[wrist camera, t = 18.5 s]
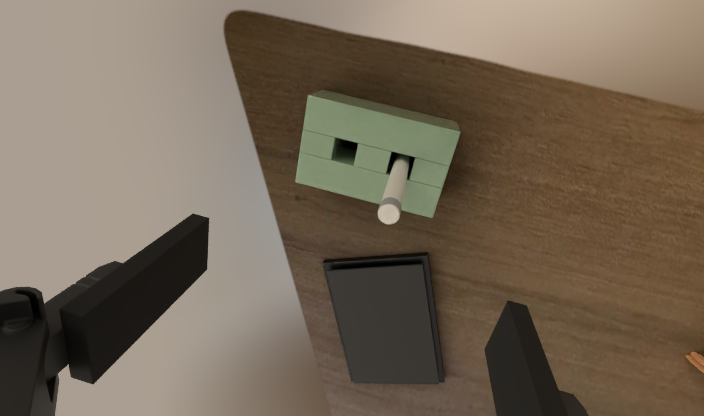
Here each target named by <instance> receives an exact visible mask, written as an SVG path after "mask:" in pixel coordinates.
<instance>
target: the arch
mask: <svg viewBox="0 0 704 416" xmlns="http://www.w3.org/2000/svg"><path fill="white" fill-rule="evenodd" d="M690 354H691V355H686V358H687V359H688V360H689V361H690V362H691V363H692V364H693V365H694V366H696V367H697V368H698V369H699V370H700V371H702V372H703V373H704V357H703V356H702V355H698V354H697V353H696V352H691V353H690Z"/></svg>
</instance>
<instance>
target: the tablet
mask: <svg viewBox="0 0 704 416" xmlns="http://www.w3.org/2000/svg"><path fill="white" fill-rule="evenodd" d="M322 264H323V268H324V272H325V276H326V280H327V284H328V288H329V292H330V296H331V300H332V304H333V308H334V312H335V316H336V320H337V324H338V329H339V333H340V337H341V341H342V345H343V349H344V353H345V357H346V361H347V365H348V369H349V373H350V377H351V381H353V377H352V373H351V369H350V365H349V361H348V357H347V353H346V349H345V345H344V341H343V337H342V332H341V328H340V324H339V320H338V316H337V312H336V308H335V304H334V300H333V296H332V292H331V288H330V284H329V279H328V275H327V270H337V269H352V268H367V267H382V266H397V265H412V264H423V270H424V278H425V285H426V292H427V299H428V306H429V313H430V320H431V327H432V335H433V342H434V349H435V356H436V363H437V370H438V377H439V382H445V381H444V371H443V364H442V356H441V349H440V341H439V334H438V326H437V319H436V311H435V304H434V296H433V289H432V281H431V274H430V266H429V259H428V253H414V254H400V255H386V256H373V257H359V258H345V259H332V260H324V261H323V263H322Z"/></svg>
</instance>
